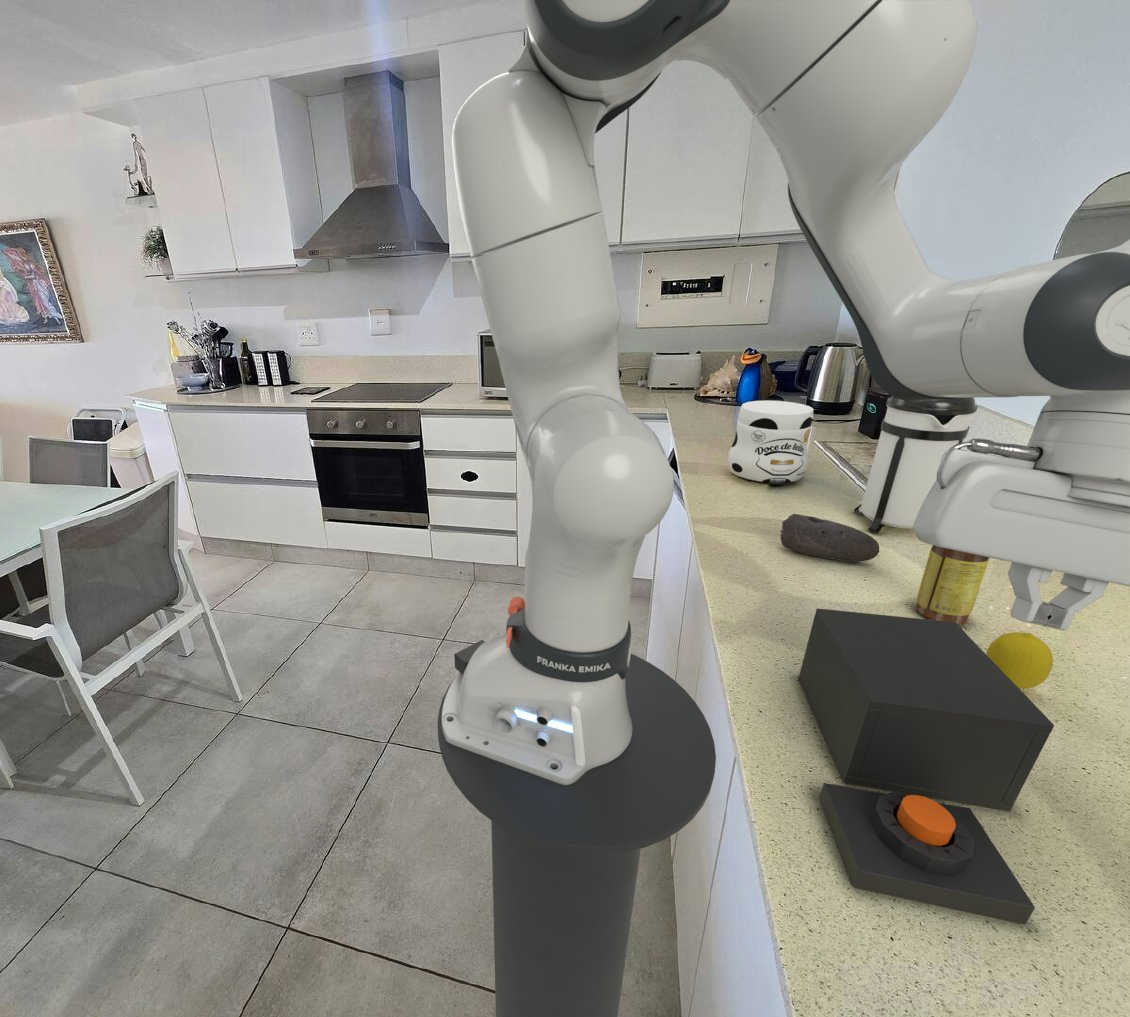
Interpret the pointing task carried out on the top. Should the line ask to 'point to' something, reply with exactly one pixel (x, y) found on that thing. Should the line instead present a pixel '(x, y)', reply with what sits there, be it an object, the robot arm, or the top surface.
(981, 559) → the sauce bottle
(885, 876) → the control block
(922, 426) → the coffee press
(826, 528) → the perforated stone tool
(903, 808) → the button
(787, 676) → the top surface
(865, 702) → the charcoal drawer unit
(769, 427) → the doce de leite jar
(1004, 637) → the lemon
